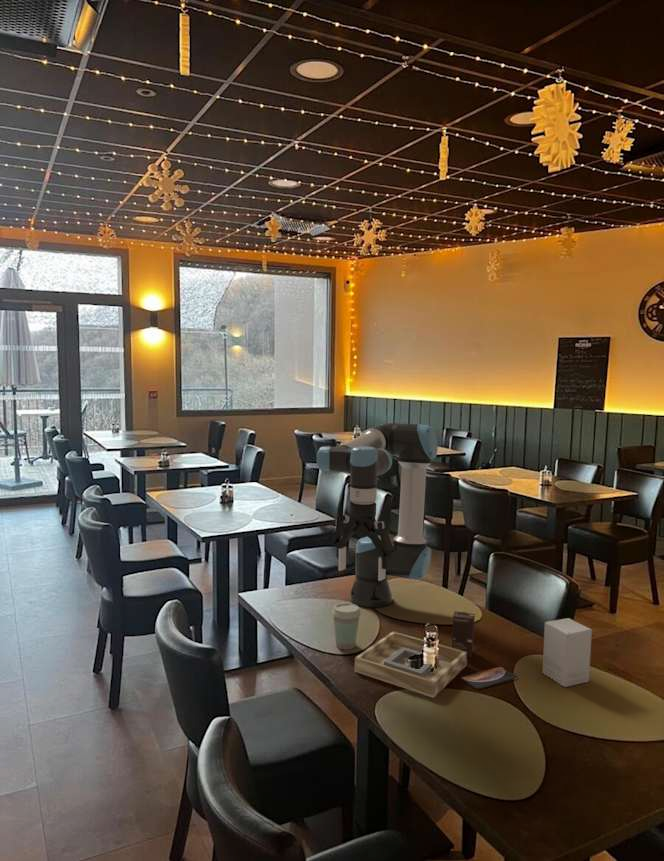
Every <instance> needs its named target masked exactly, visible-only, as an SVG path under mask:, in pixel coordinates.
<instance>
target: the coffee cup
mask: <svg viewBox="0 0 664 861" xmlns="http://www.w3.org/2000/svg"><path fill="white" fill-rule="evenodd" d="M331 615H332V616H333V624H334V626H333V627H334V637H335V638H334V639H335V646H336V647H337V648H338V649H339V650H347V651H348V650H353V649H354V648H355V647H356V644H357V643H356V642H357V636H358V630H359V629H358V628H359V621H360V616H361V610H360V606H358V605H356V604H354V603H352V602H351V603H350V602H341V603H337V604H335V605H334V607H333V610H332V612H331Z"/></svg>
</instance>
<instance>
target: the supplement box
mask: <svg viewBox="0 0 664 861" xmlns="http://www.w3.org/2000/svg"><path fill="white" fill-rule="evenodd" d="M592 633H593V630H592V628H589V627H588V626H585V625H584V624H582V623H580V622H577V621H575V620H573V619H571V618H569V617H567V618H562V619H561V618H560V619H557V620H556V619H555V620H550V621H549V620H548V621H545V622H544V634H543V654H542V656H543V657H542V658H543V659H542V674H543V673H544V674H543V675H545V676H546V675H547V676H546V677H548V678H549V677H550V678H549V679H550V680H552V679H553V680H552V681H554V682H555V683H557V684H558V685H560V686H562V687H563V686H564V687H563V688H566V687H572V686H576V685H579V684H584V683H588V682H590V670H591V667H590V666H591V652H592V651H591V648H592V646H591V645H592V635H593V634H592Z"/></svg>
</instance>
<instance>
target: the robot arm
mask: <svg viewBox="0 0 664 861" xmlns="http://www.w3.org/2000/svg"><path fill="white" fill-rule="evenodd" d="M437 452H438V439H437V434H436V431H435V429H434V428H433V427H432V426H430V425H427V424H426V425H425V424H421V423H419V424H414V423H413V424H412V423H399V422H398V423H397V422H389V423H383V424H379V425H375V426H373V427H371V428H370V427H369V428H368V429H366V430H363V432H362V434H361V435H359V436H357V437H355V438H353V439H350V440H348V441H346V442H343V443H341V444H339V445H336V446H329V445H328V446H321V447H320V448H319V449H318V451H317V454H316V466H317V468H318V469H319V470H320V471H325V472H328V473H331V472H332V473H343V474H350V477H349V478H350V480H349V481H350V482H349V500H350V502H349V514H348V513H345V514H343V515H340V517H339V518H340V521H339V524H338V526H337V528H336V530H335V532H334V535H333V537H332V539H331V540H330V544H331V545H332V546H334V547H336V559H338V561H337V562H338V565H337V566H338V568H337V569H338V572H342V571H343V570H346V569H347V568H346V566H347V546H345V545H346V544H347V543H348V541H349V540H350V539H351V537H352V536H354V535H355V534H357V535H363V536H365V537H361V538H359V539H358V540H357V542H356V547H355V552H354V553H355V579H354V582H353V584H352V587H351V590H350V592H349V601H350V602H351V604H355V605H357V606H358V607H362V608H382V607H386V606H389V605H391V603H392V601H393V594H392V590H391V588H390V585H389V581H388V576H390V577H395V578H396V577H397V578H403V579H409V580H417V581H419V580H423V579H424V578H425V577H426V575H427V573H428V571H429V569H430V565H431V560H432V549H431V547H429V546H427V539H425V538H424V535H423V533H424V517H425V516H424V515H425V514H424V513H425V498H426V485H427V484H426V483H427V482H426V481H427V469H428V467H429V466H430V465H432V460H434V459H436V457H437V455H438V453H437ZM392 456H393V457H398V458H397V463H398V464H399V465H400V466H401V476H400V477H401V478H400V479H401V480H400V492H399V494H400V496H399V509H398V510H399V511H398V512H399V513H398V514H399V515H398V528H397V529H398V530H397V532H398V533H397V534H396V536H395V537H393V540H392V541H393V542H392V541H391V539H390V535H389V533H388V531H387V526H386V525H387V523H386V521H385V520H382V521H377V520H376V515H377V503H376V501H377V497H378V496H377V492H378V491H377V487H378V486H377V484H378V481H377V480H378V477H379V476H382V475H384V474H386V473H387V472H388V471H389V470H390V469H391V467H392V465H393V458H392ZM349 515H350V516H349ZM348 523H349V524H350V527H349V528H348V529H347V531H346V533H344V532H345V530H346V528H347V526H348ZM343 534H344V535H343Z"/></svg>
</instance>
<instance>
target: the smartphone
mask: <svg viewBox="0 0 664 861" xmlns="http://www.w3.org/2000/svg"><path fill="white" fill-rule="evenodd" d="M517 677H518V675H516V674H514V673H513V672H511V671H509V670H508V669H506V668H505V667H502V666H496V667H493V668H489V669H486V670H482V671H478V672H475V673H472V674H468V675H464V676H461V677H460V680H461V681H462V682H463V683H465V684H466V683H467V684H466V685H470V686H469V687H471V688H472V687H473V689H474V690H476V691H480V690H481V689H482V690H485V689H488V688H491V686H492V687H494V685H495V686H497V684H499V683H502V684H504V683H503V682H505V683H507V682H506V681H509V680H512V681H514V680H513V679H515V678H517ZM517 679H518V678H517ZM509 682H510V681H509ZM499 685H500V684H499Z"/></svg>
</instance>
